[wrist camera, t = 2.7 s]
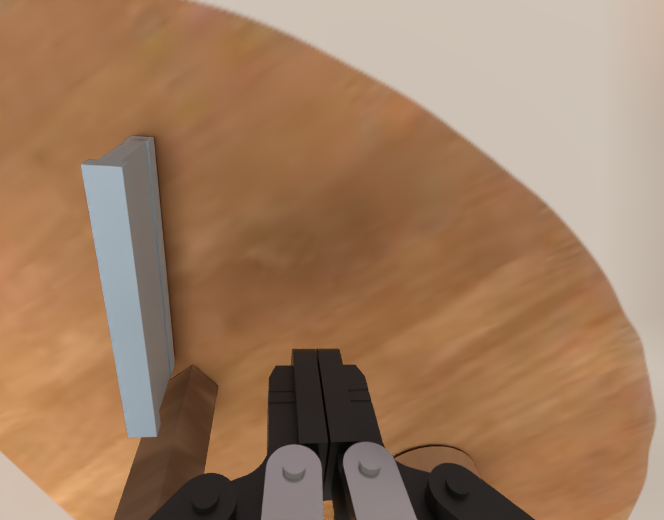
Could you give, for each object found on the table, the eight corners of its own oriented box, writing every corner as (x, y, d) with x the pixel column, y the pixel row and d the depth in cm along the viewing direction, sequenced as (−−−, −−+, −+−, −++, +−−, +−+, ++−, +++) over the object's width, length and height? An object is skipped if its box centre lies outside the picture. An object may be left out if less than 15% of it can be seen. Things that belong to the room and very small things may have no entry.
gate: (178, 364, 27) (157, 436, 22) (154, 365, 26) (128, 437, 22) (158, 137, 20) (121, 166, 16) (127, 135, 20) (80, 164, 15)
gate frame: (219, 385, 28) (183, 611, 17) (183, 408, 29) (125, 643, 18) (-94, 122, 19) (-617, 234, 8) (-138, 163, 20) (-687, 324, 8)
